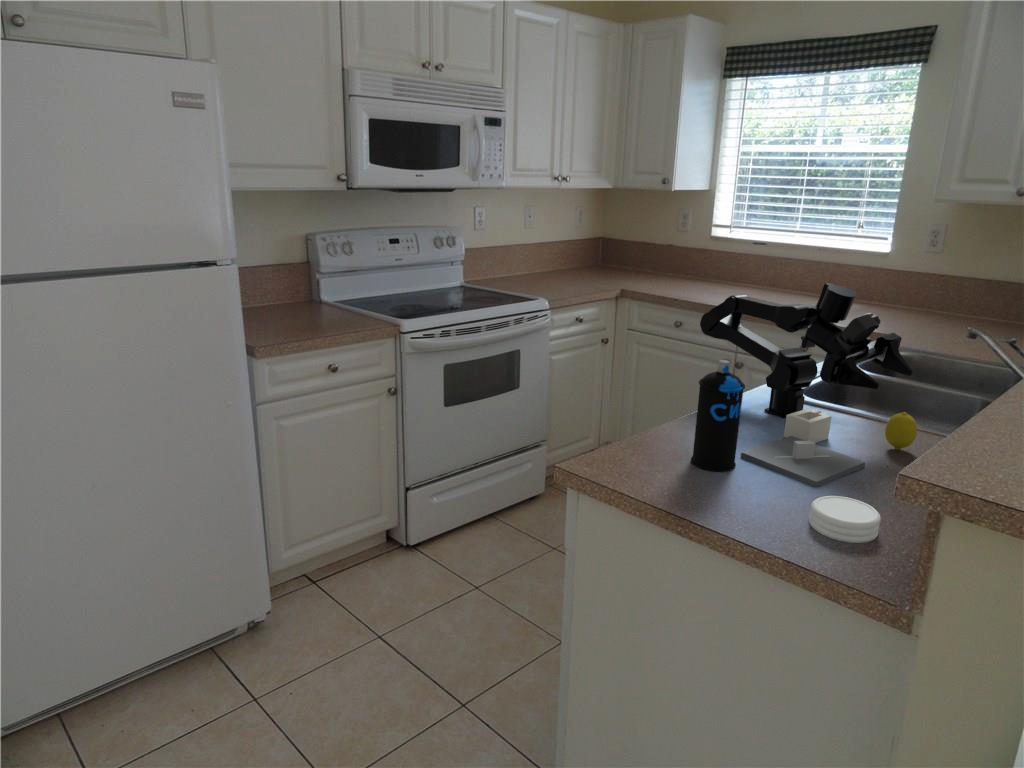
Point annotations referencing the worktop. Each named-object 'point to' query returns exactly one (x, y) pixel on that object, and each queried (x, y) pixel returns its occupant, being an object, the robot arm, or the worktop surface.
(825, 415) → the square tube sleeve
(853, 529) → the white round flat disc
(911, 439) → the lemon
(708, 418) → the aerosol can
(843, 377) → the robot arm
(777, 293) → the worktop surface
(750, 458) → the grey peg base plate
